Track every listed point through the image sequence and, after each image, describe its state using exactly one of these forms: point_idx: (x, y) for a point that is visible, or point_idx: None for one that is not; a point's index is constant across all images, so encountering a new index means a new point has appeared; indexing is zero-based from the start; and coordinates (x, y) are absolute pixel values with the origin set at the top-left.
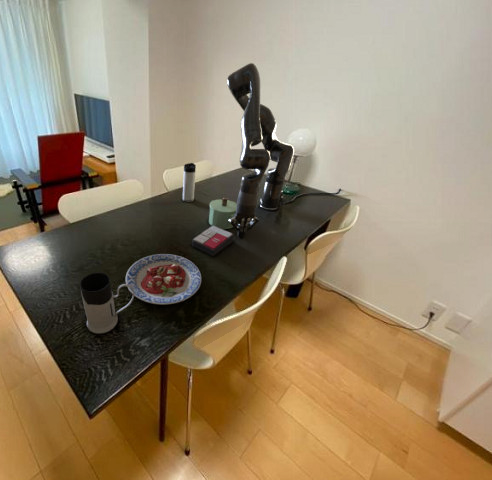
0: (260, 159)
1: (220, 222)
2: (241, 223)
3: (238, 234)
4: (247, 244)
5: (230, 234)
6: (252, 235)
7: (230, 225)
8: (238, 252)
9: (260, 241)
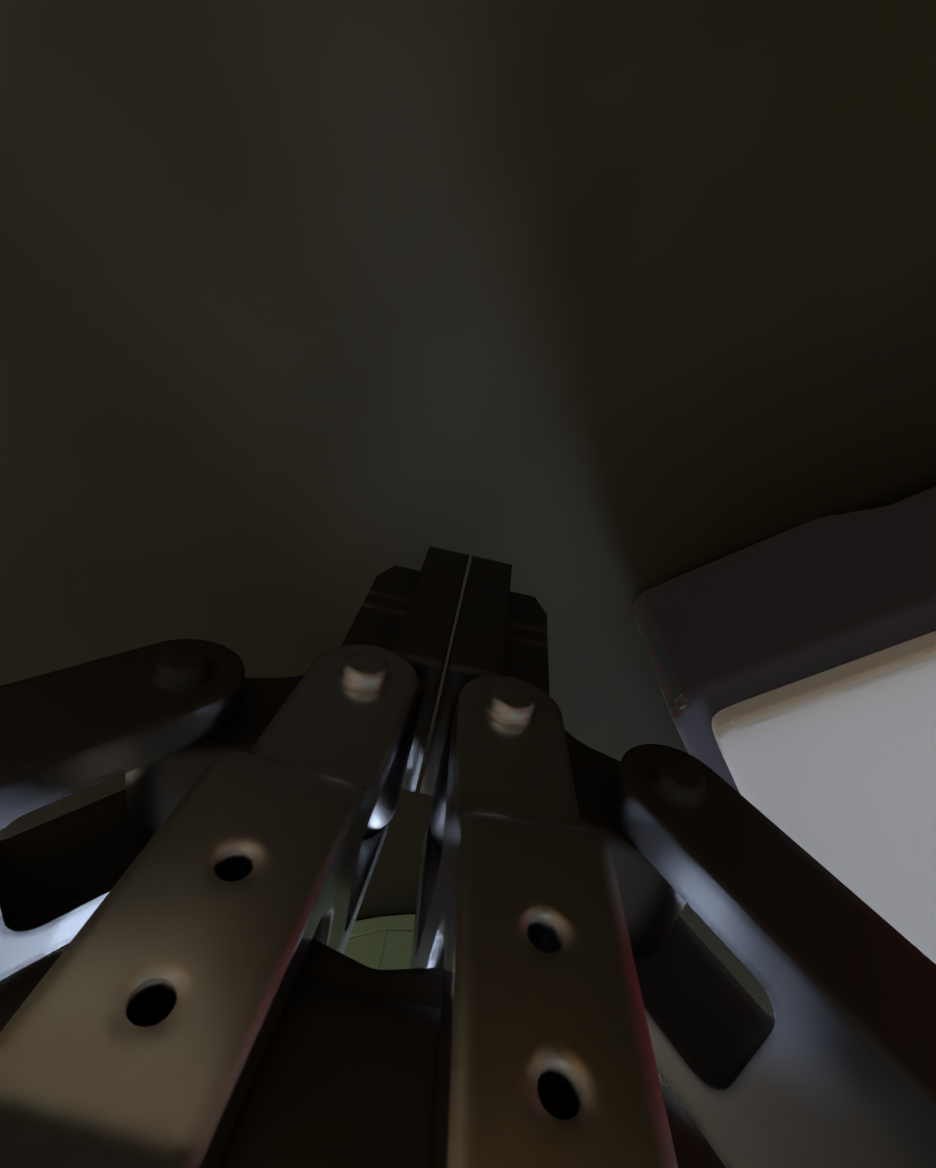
0: None
1: None
2: (624, 1098)
3: (545, 660)
4: (383, 385)
5: (803, 722)
6: (127, 632)
7: (409, 966)
8: (836, 114)
9: (37, 391)
